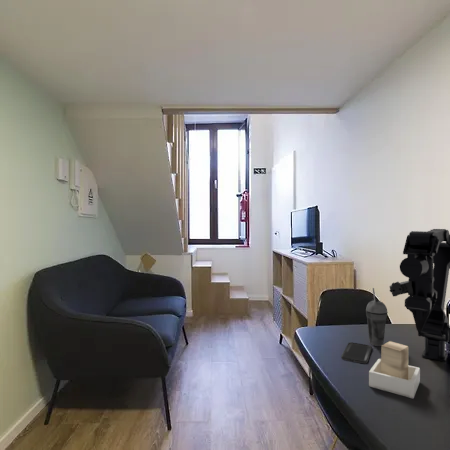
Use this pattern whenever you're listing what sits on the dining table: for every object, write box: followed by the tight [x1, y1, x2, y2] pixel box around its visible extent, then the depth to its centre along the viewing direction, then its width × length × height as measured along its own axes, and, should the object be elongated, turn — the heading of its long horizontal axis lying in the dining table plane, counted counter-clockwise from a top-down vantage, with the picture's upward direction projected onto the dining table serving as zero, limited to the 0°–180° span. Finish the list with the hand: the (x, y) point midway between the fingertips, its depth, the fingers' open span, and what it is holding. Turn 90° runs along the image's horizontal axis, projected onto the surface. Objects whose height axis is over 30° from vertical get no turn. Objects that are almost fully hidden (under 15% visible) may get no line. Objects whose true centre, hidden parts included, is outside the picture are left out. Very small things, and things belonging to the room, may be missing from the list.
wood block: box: [380, 340, 409, 380], centre depth 93 cm, size 5×5×10 cm
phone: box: [340, 342, 373, 364], centre depth 115 cm, size 8×1×15 cm
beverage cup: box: [365, 287, 388, 347], centre depth 123 cm, size 7×7×20 cm
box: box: [368, 358, 421, 400], centre depth 93 cm, size 11×11×4 cm
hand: (421, 326), depth 102 cm, fingers open, 9 cm apart
